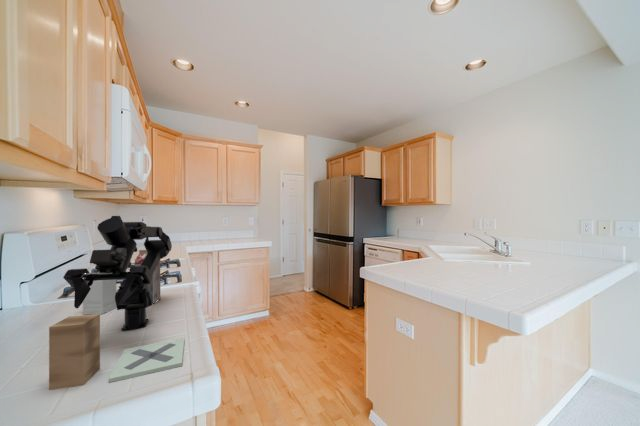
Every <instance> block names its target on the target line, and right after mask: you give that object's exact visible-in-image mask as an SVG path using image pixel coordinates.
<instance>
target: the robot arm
mask: <svg viewBox="0 0 640 426" xmlns="http://www.w3.org/2000/svg"><path fill="white" fill-rule="evenodd" d="M97 230H98V232H99V234H100V235H101V236H102V238H103V239H104V241H105V243H106V244H107V245H108V246H111V247H110V249H94V250H92V252H91V256H90V259H89V263H90V264H93V265H95V267H94V268H95V270H97V271H99V272H90V271H89V270H88V269H87V268H85V267H84V268H71V269H68V270H66V272H65V274H64V276H62V278H63V279H64V280H65V281H66V282H67V283H68V284H69V286H70V287H71V288H73V289H74V305H73V307H74V308H75V309H79V308H80V307H81V305H83V301H84V299H85V298H86V296H87V294H88V293H89V291H90V290H91V288H90V287H89V286H91V285H92V284H93V281H97V280H116V281H118V280H119V281H121V280H122V283H120V285H119V286H118V289H117V290H116V294H115V302H116V306H117V307H116V310H117V311H119V310H120V311H121V310H124V324H123V326H122V327H121V328H120V330H121V331H123V332H124V331H127V330H133V329H134V330H135V329H141V328H145V327H147V325H148V322H149V321H150V319H149V318H147V308H148V307H150V306H153V305H152V302H153V296H152V294H151V293H150V291H149V288H148V284H150V283H151V279H152V274H153V272H154V270H155V269H156V267H157V265H158V263H159V261H160V262H161V260H162V259H163V258H165V257H167V256H168V255H169V254H170V251H171V250H172V247H173V246H172V242H171V238H170V236H169V235H167V234H166V233H165V232H164V231H163V228H162V227H160V226H148V225H147V224H146V223H145V222H142V221H123V220H122V217H121V215H111V217H110V218H107V219H105V220H103V221H101V222H100V223H98V225H97ZM149 238H159V239H149ZM144 239H145V241H144V242H143V246H144V248H145V250H146V251H147V255H146V257H145V258H144V260H143V262H142V263H141V265H140V266H135V265H132V264H133V263H132V262H131V261H132V257H133V255H134V253H137V252H138V247H137V240H141V241H142V240H144ZM128 268H129V269H128ZM127 270H128V271H127Z"/></svg>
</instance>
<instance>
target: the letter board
mask: <svg viewBox="0 0 640 426" xmlns="http://www.w3.org/2000/svg"><path fill="white" fill-rule="evenodd" d="M184 350H185V337H183V338H177V339H172V340H166V341H161V342H155V343H151V344H150V343H149V344H144V345H139V346H134V347H129V348H125V349H124V350H123V352H122V353H121V354H120V357H119V360H118V361H117V363H116V365H115V367H114V368H113V371H112V372H111V374H110V376H109V378H108V383H114V382H118V381H122V380H126V379H130V378H131V379H132V378H135V377H140V376H144V375H145V376H146V375H148V374H153V373H154V374H155V373H156V372H158V373H159V372H161V371H165V370H171V369H175V368H180V367H182V366H183V361H184V360H183V359H184V358H183V357H184V352H185V351H184Z"/></svg>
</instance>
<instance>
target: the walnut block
mask: <svg viewBox="0 0 640 426" xmlns="http://www.w3.org/2000/svg"><path fill="white" fill-rule="evenodd" d="M48 331H49V332H48V356H49V357H48V359H49V360H48V371H49V373H48V390H49V391H51V390H52V391H53V390H57V389H66V388H74V387H80V386H85V384H86V383H88V382H89V380H90V379H91V378H93V377H94V376H95V374H97V373H98V372H99V371H100V369H101V314H88V315H83V314H82V315H71V316H67V317H66V318H64V319H62V320H60V321H58V322H56V323H54V324H53V325H51V326H49V328H48Z"/></svg>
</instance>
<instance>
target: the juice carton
mask: <svg viewBox="0 0 640 426" xmlns="http://www.w3.org/2000/svg"><path fill="white" fill-rule="evenodd" d="M146 255H147V251H146V249H140V250H138V255H137V256H136V258H135V259H134V266H140V265H141V263H142V262H143V260H144V258H145V257H146ZM148 288H149V291H150V293H151V294H152V296H153V302H152V304H153V303H155V302H156V301H157V300H159V299H160V300H161V260H160V261H159V263H158V265H157V267H156V269H155V270H154V272H153V274H152V279H151V283H150V284H148ZM160 300H159V301H160ZM155 304H156V303H155Z"/></svg>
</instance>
